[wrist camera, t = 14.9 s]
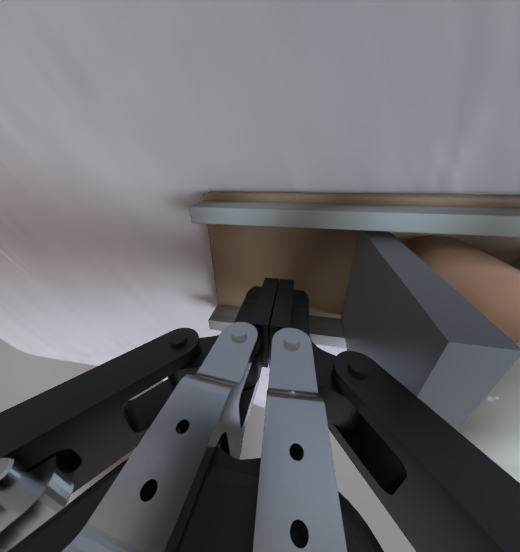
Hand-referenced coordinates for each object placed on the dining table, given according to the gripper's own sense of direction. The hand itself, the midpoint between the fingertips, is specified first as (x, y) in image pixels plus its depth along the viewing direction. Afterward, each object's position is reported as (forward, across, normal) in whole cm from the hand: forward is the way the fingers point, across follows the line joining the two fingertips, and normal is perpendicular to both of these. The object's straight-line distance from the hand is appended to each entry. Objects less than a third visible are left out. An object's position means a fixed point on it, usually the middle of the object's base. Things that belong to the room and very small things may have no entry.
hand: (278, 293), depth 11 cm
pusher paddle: (+2, -4, 0) cm, 5 cm away
